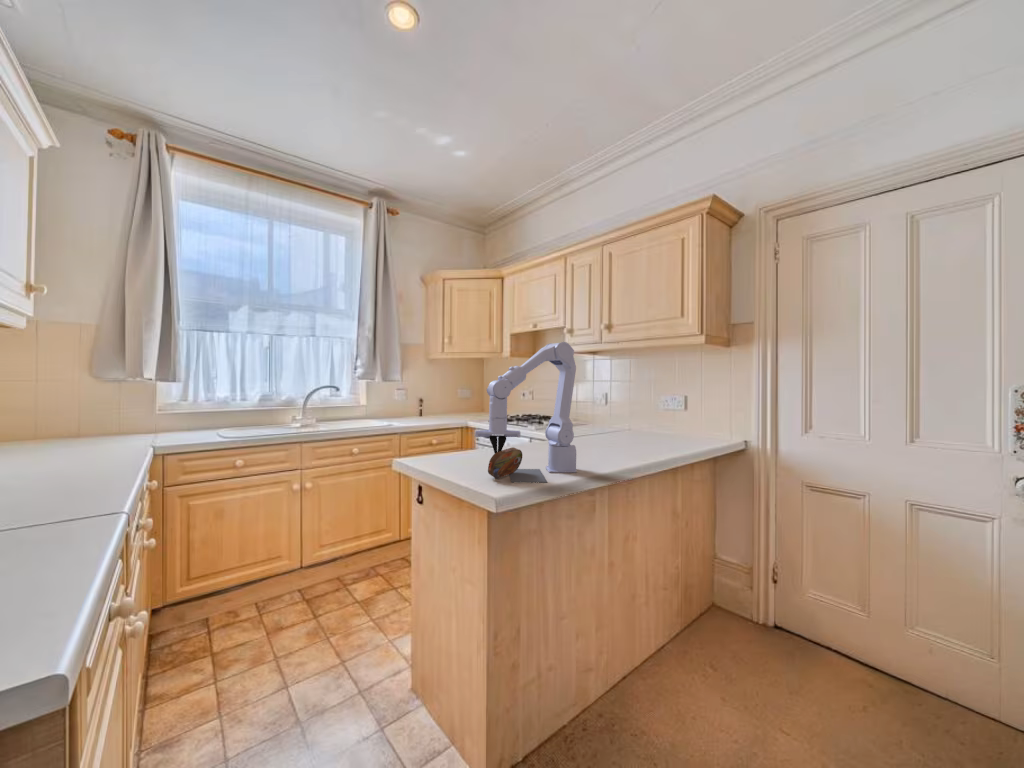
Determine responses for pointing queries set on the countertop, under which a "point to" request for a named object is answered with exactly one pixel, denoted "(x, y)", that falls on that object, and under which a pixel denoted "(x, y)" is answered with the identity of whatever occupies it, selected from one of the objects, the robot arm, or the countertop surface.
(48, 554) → the countertop surface
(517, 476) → the mat
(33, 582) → the countertop surface
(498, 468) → the tin
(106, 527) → the countertop surface
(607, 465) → the countertop surface
